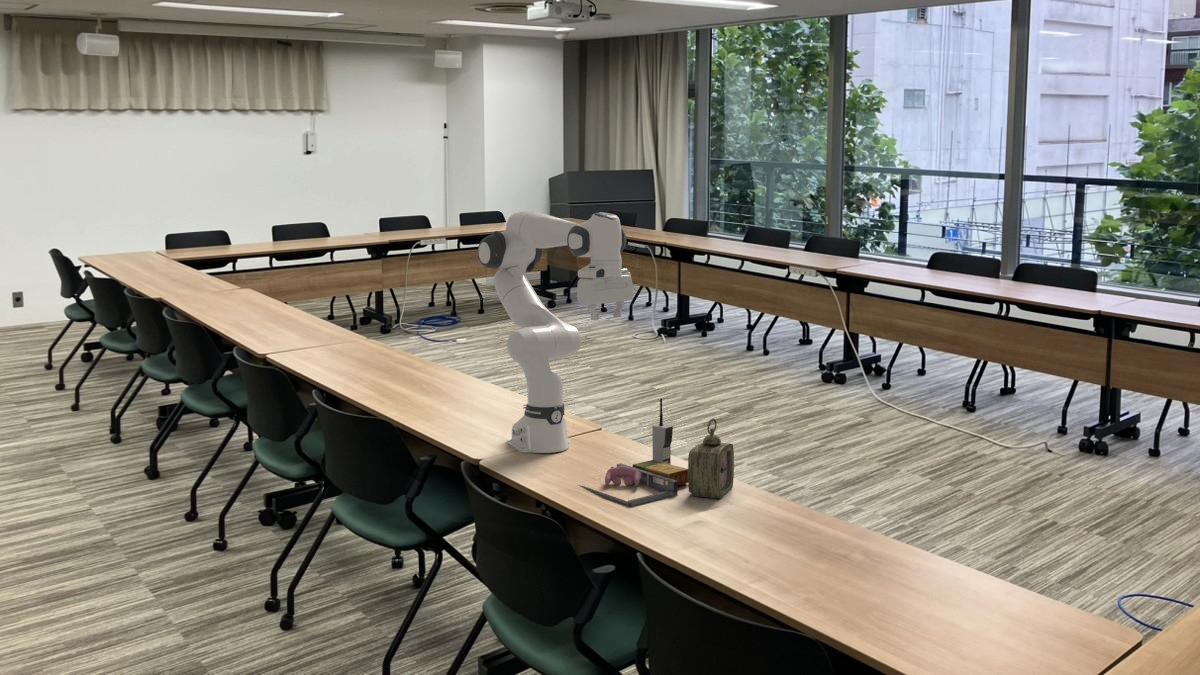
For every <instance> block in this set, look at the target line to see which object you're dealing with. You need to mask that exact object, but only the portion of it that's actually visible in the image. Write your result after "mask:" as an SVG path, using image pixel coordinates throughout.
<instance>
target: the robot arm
mask: <svg viewBox="0 0 1200 675" xmlns="http://www.w3.org/2000/svg"><path fill="white" fill-rule="evenodd" d="M620 220H621V219H620V218H619V217H618V215H616V214H614V213H611V212H594V213H593V214H592V215H591V216H590V218H589V219H588V220H586V221H584V222H582V223H578V222H574V221H570V220H567V219H563V218H559V217H556V216H553V215H550V214H547V213H543V212H539V211H532V210H531V211H529V210H527V211H525V210H524V211H518V212H515V213H513V214H511V215H510V216H509V217H508V219H507V221H506V226H505V230H504V231H502V232H499V231H497V230H496V231H494V232H493V233H492V234H490V235H487V236H485V237H484V238H482V239H481V241H480V242H479V244H478V246H477V256H478V260H479V261H480V264H481V265H482V266H483V267H484V268H487V269H492V270H497V269H498V270H497V271H496V273H495V274H494V276H493V284H494V288H495V291H496V294H497V297H498V299H499V301H500V302H501V304H502V306H503V308H504V310H505V311H506V314H507V315H508V317H509V318H510V320H511V322H512V323H513V325H515V326H517V327H518V328H520V329H516V330H514V331H512V332H511V333H510V334H509V336H508V337H507V338H508V339H507V343H506V349H507V352H508V354H509V356H510V358H511V359H512V360H514V362H516V363H517V364H518V365H519V366H520V367H521V369H522V372H523V373H524V376H525V380H526V389H527V394H526V395H527V403H526V404H523V405H522V406H523V409H524V412H523V416H522V417H521V418H520V419H517V421H516V422H515V423H514V424H512V427H511V439H510V440H508V441H506V443H508V444H509V445H510V446H511V447H513V448H514V449H516V450H517V451H518V452H520V453H526V454H527V453H536V454H550V453H557V452H558V453H559V452H562V451H565V450H566V451H567V450H568V449H569V445H570V444H571V440H570V439H569V437H568V427H567V426H568V425H567V420H566V418H565V417H564V416H565V411H566V410H565V403H564V400H563V399H564V398H563V397H564V393H563V392H564V390H563V387H564V386H563V385H564V384H563V380H562V378H561V377H560V375H559V374H557V373H555V372H553V371H552V369H551V367H550V361H552V360H560V359H565V358H568V357H570V356H573V355H575V354H576V353H578V352H579V350H580V348H581V343H582V338H581V334H580V331H579V330H578V329H577V327H575V326H574V325H572V324H569V323H567V322H565V321H563V320H562V319H560V318H559V317H557V316H556V315H555V314H554V313H552V312H551V311H550V310H549V309H548V308H547V307H546V306H545V305H544V303H543V302H542V301H541V299H540V297H539V296H538V295H537V293H536V291H535V289H534V287H533V286H532V285H531V282H530V281H529V279H528V277H527V275H526V274H527V273H530V272H532V271H533V270H534V269H535V268H536V267H535V266H537V265H538V264H539V263H540V261H541V259H542V256H543V254H544V249H551V248H556V247H557V248H559V247H564V246H567V248H568V250H569V251H570V253H571V254H572V255H573V256H575V257H578V258H590V263H589V264H587V265H585V266H584V267H582V268H580V269H578V271H577V277H578V278H579V280H578V281H577V286H576V287H577V290H576V291H577V292H576V296H577V297H576V298H577V299H576V300H577V302H578V304H579V305H581V306H587V309H588V311H589V314H590V320H591V321H599V318H600V314H599V313H597V310H596V309H597V305H602V304H609V303H611V304H612V303H615V305H616V307H615V310H613V318H621V317H622V311H623V308H624V306H625V302H627V301H632V300H633V299H634V298H633V297H634V285H633V278H632V273H631V272H630V271H629V269H628V268H622V263H623V262H622V261H623V260H622V259H623V258H622V255H621V254H622V252H623V251H624V250H625V248H626V244H627V234H626V232H625V231H624V228H623V227H622V226H621V221H620Z"/></svg>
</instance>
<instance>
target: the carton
mask: <svg viewBox="0 0 1200 675" xmlns="http://www.w3.org/2000/svg"><path fill="white" fill-rule="evenodd" d="M631 467H635V468H637V469H640V470H644V471H647V472H650V473H653V474H657V475H660V476H663V477H666V478H670V479H673V480H676V481H678V486H680V485H686V484H688V468H687V467H682V466H677V465H673V464H671V465H670V464H666V463H662V462H658V461H654V460H653V459H650V460H645V461H642V462H637V463H634V464H632V466H631Z"/></svg>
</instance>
